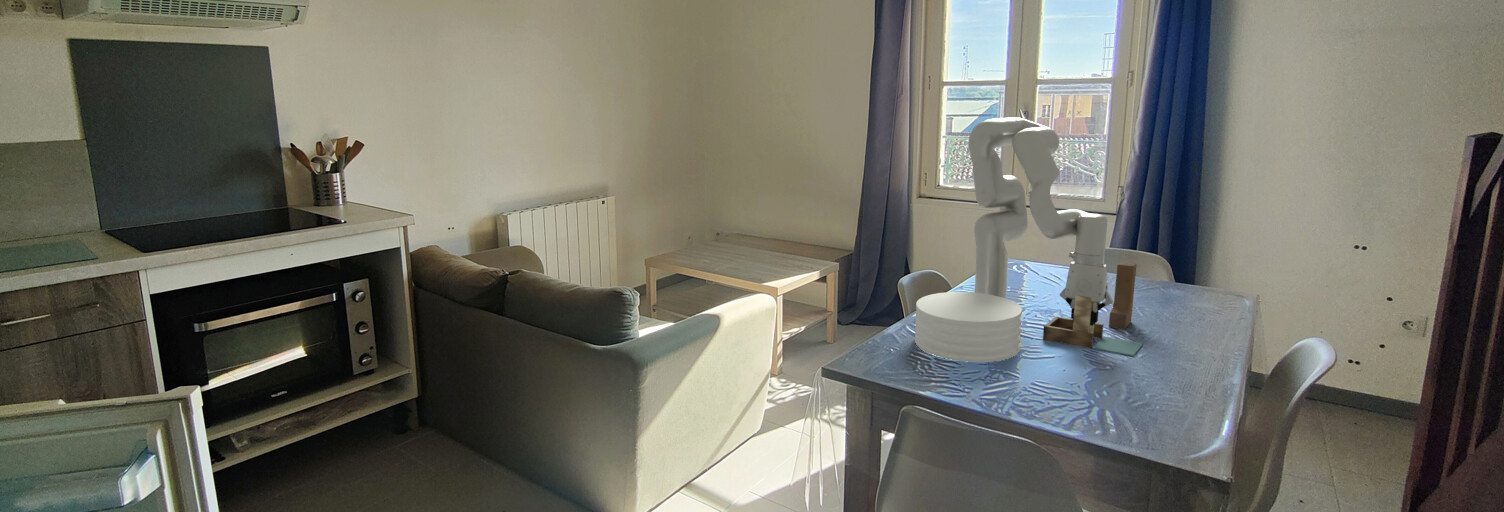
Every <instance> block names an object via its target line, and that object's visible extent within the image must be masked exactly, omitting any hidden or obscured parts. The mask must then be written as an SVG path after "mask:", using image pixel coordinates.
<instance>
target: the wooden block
mask: <svg viewBox="0 0 1504 512" xmlns="http://www.w3.org/2000/svg"><path fill="white" fill-rule="evenodd" d="M1136 275H1137V263H1135V262H1126V261H1120V262H1119V263H1118V264H1117V267H1116V277H1115V287H1114V298H1113V303H1112V308H1111V311H1110V313H1109V317H1108V318H1109V320H1108V327H1109V328H1113V329H1114V328H1116V329H1122V330H1125V329H1126V328H1127V327H1128V326H1129V324H1130V323H1131V321H1132V315H1133V304H1134V295H1135V285H1136V277H1137V276H1136Z"/></svg>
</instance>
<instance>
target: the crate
mask: <svg viewBox="0 0 1504 512" xmlns="http://www.w3.org/2000/svg"><path fill="white" fill-rule="evenodd" d="M1072 321H1073V319H1072V318H1068V317H1063V316H1057V315H1056V316H1055V317H1054V318H1052V319H1051V320H1050V321H1048V322H1047V323H1046V324H1045V325H1043V333H1042V340H1044V341H1049V342H1054V343H1060V344H1065V345H1071V346H1074V347H1075V346H1076V347H1081V348H1086V349H1090V350H1091V349H1093V347H1094V346H1093V345H1094V338H1096V339H1100V340H1102V339H1103V335H1104V332H1103V331H1104V323H1098V322H1097V323H1095V324H1094V332H1093V334H1092V333H1087V332H1081V331H1075V330H1073V322H1072Z"/></svg>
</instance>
